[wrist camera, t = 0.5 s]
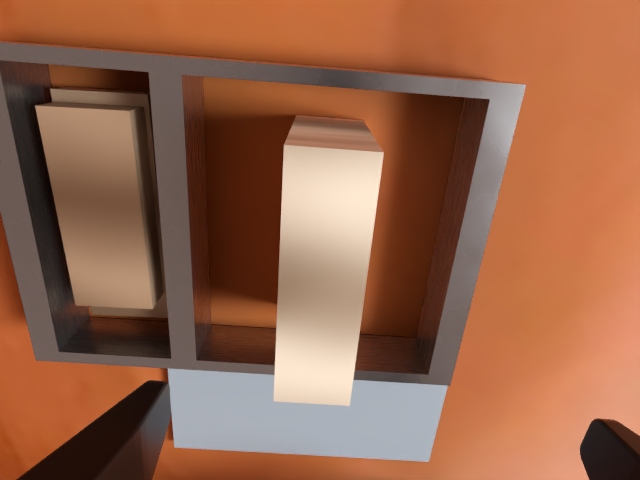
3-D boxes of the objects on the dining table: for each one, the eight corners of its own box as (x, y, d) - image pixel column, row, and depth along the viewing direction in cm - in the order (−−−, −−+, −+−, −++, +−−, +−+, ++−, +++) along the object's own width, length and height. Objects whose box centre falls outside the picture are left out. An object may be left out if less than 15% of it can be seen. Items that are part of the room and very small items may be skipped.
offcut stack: (179, 302, 23) (160, 335, 21) (105, 298, 23) (76, 331, 21) (160, 91, 19) (132, 97, 16) (69, 86, 19) (27, 91, 16)
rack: (435, 347, 24) (450, 385, 21) (69, 324, 23) (35, 360, 21) (495, 80, 18) (526, 84, 16) (15, 41, 18) (-41, 38, 15)
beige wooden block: (341, 308, 23) (349, 406, 17) (286, 305, 23) (273, 401, 17) (362, 119, 19) (383, 152, 13) (296, 114, 19) (284, 145, 13)
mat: (426, 455, 27) (428, 461, 27) (176, 440, 27) (174, 447, 26) (447, 368, 25) (450, 374, 24) (169, 351, 24) (166, 356, 24)
